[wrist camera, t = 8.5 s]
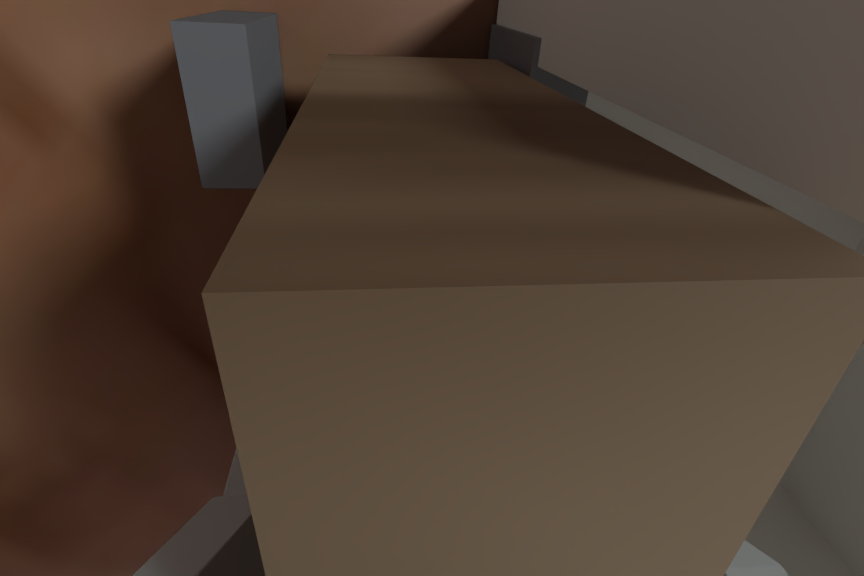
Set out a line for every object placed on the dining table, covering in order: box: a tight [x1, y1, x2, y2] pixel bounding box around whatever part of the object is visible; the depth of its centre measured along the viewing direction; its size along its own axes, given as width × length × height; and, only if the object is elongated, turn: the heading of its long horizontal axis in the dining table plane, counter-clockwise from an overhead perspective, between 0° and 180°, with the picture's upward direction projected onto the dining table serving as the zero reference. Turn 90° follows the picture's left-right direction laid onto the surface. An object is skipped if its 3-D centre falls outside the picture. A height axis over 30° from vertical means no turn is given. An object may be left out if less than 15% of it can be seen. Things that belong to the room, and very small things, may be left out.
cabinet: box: [170, 0, 864, 576], centre depth 10 cm, size 14×16×9 cm
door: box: [201, 54, 864, 576], centre depth 8 cm, size 12×4×8 cm, turn 178°
